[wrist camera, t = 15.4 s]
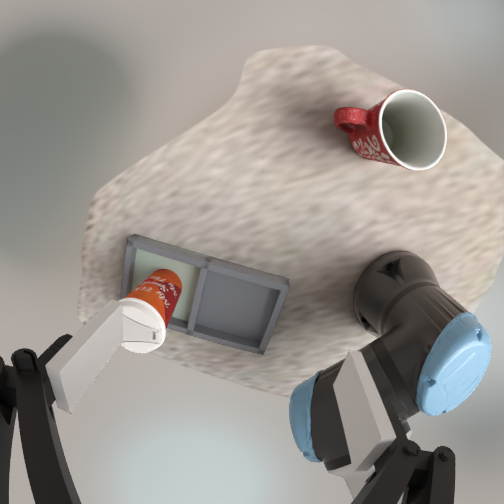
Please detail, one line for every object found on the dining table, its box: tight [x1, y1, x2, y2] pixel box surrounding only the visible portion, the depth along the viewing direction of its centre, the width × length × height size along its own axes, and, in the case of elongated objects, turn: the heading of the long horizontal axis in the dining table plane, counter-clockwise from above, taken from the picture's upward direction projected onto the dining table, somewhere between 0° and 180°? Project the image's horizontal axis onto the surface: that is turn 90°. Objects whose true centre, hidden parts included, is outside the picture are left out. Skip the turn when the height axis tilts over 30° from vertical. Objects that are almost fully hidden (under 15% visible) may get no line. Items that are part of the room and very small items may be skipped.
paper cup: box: [118, 269, 182, 353], centre depth 39 cm, size 8×8×14 cm
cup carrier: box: [120, 234, 290, 355], centre depth 45 cm, size 25×13×3 cm, turn 74°
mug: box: [334, 89, 447, 171], centre depth 32 cm, size 13×9×14 cm
